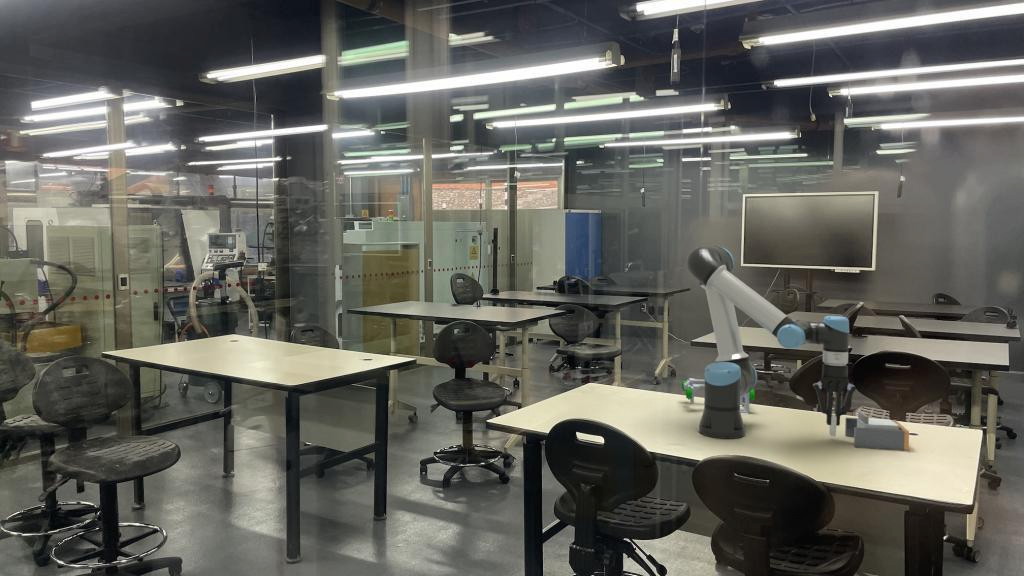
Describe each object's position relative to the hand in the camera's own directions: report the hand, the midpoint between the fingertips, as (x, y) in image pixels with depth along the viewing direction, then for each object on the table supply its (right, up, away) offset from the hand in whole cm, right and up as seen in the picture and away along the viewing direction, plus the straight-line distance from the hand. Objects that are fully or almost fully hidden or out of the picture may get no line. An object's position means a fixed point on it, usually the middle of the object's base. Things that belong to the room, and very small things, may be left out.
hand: (832, 434), depth 223 cm
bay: (+12, -2, -3) cm, 12 cm away
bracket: (-24, +1, +46) cm, 52 cm away
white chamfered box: (+13, -2, -3) cm, 13 cm away
